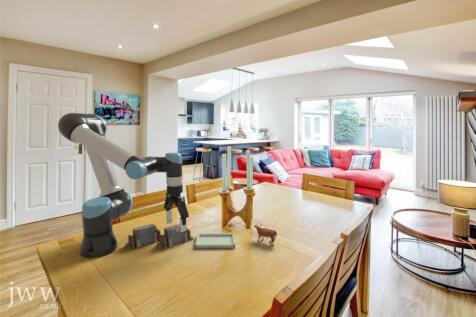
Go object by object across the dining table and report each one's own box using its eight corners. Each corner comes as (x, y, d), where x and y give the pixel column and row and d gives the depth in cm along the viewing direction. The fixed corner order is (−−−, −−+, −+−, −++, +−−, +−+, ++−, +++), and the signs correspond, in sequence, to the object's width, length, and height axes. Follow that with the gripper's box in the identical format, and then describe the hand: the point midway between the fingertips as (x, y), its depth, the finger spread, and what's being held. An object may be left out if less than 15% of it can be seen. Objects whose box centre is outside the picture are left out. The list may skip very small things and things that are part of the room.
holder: (130, 250, 115) (129, 240, 114) (125, 245, 119) (125, 235, 119) (163, 239, 126) (163, 230, 125) (157, 235, 131) (157, 226, 130)
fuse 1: (136, 247, 118) (135, 231, 117) (133, 244, 121) (132, 228, 120) (156, 240, 125) (156, 225, 124) (153, 238, 128) (152, 223, 126)
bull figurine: (255, 236, 132) (256, 221, 131) (278, 244, 123) (278, 228, 122) (250, 239, 128) (251, 223, 127) (273, 247, 120) (274, 231, 119)
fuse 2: (168, 246, 119) (167, 230, 118) (164, 243, 122) (163, 228, 121) (186, 240, 125) (186, 225, 124) (182, 237, 128) (182, 223, 127)
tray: (194, 248, 117) (194, 245, 117) (197, 236, 130) (197, 233, 130) (235, 248, 118) (235, 244, 118) (234, 236, 131) (234, 233, 131)
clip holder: (163, 249, 116) (162, 239, 115) (157, 245, 120) (156, 235, 120) (193, 239, 127) (193, 230, 126) (186, 235, 131) (186, 226, 131)
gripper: (195, 187, 113) (196, 232, 116) (169, 179, 131) (170, 218, 134) (181, 190, 108) (182, 237, 111) (155, 181, 126) (157, 221, 129)
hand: (176, 227), depth 122 cm, fingers open, 13 cm apart
